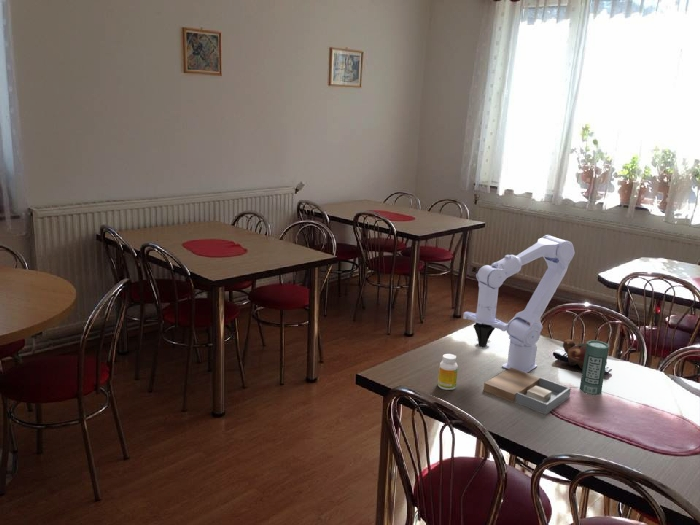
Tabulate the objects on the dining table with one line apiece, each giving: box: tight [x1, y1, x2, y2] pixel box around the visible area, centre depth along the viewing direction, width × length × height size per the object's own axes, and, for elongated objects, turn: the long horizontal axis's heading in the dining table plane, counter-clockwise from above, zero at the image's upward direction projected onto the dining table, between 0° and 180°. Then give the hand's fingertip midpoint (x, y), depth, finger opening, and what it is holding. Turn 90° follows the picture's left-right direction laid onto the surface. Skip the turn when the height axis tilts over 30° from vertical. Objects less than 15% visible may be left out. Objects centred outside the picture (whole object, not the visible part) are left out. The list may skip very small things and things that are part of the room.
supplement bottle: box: [437, 353, 459, 391], centre depth 185 cm, size 5×5×10 cm
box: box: [514, 376, 572, 415], centre depth 180 cm, size 15×10×3 cm, turn 137°
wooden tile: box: [527, 386, 552, 402], centre depth 181 cm, size 5×5×2 cm
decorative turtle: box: [562, 339, 608, 371], centre depth 204 cm, size 10×15×8 cm, turn 46°
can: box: [579, 339, 610, 396], centre depth 186 cm, size 6×6×15 cm
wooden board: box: [483, 368, 540, 403], centre depth 187 cm, size 16×10×2 cm, turn 137°
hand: (482, 346), depth 193 cm, fingers closed
